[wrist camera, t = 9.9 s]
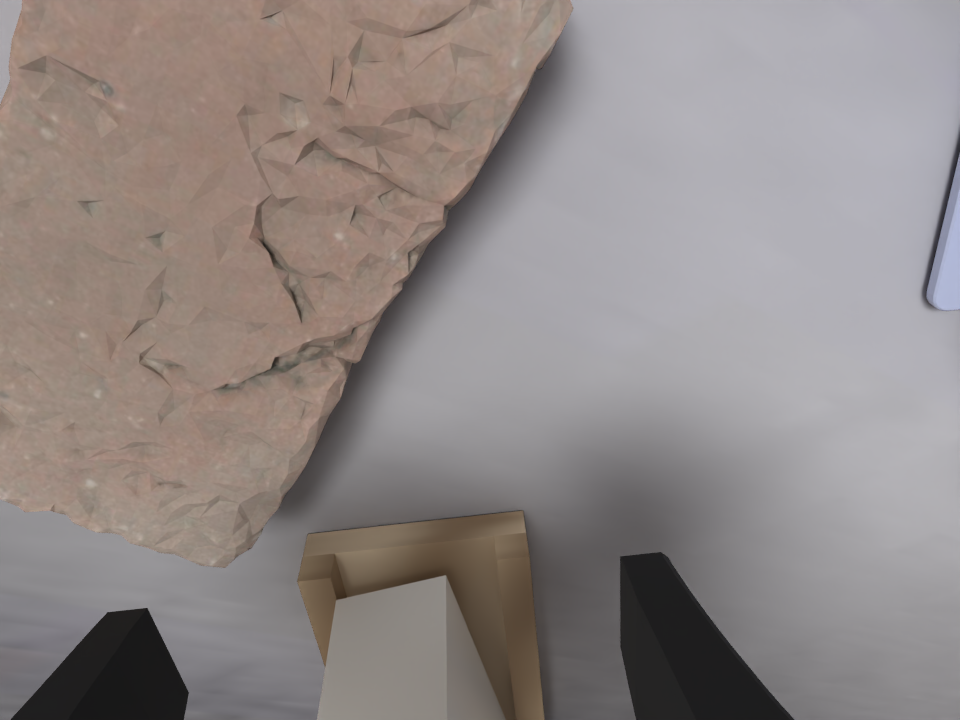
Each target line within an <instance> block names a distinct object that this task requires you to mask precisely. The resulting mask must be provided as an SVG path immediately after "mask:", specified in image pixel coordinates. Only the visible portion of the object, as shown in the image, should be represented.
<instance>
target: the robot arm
mask: <svg viewBox="0 0 960 720" xmlns="http://www.w3.org/2000/svg"><path fill="white" fill-rule="evenodd" d="M927 299H928V301H929V303H930V304H932V305H933V306H934V307H936V308H938V309H939V310H942V311H951V310H960V154H959V158H958V163H957V167H956V171H955V175H954V179H953V184H952V188H951V192H950V196H949V200H948V205H947V209H946V213H945V217H944V221H943V226H942V230H941V234H940V238H939V242H938V247H937V251H936V255H935V259H934V263H933V268H932V272H931V276H930V280H929V284H928V289H927ZM620 609H621V651H622V656H623V660H624V665H625V670H626V675H627V680H628V684H629V689H630V694H631V698H632V703H633V707H634V712H635V716H636V719H637V720H794V719H793V718H792V717H791V716H790V714H789V713H788V712H787V711H786V710H785V709H784V708H783V707H782V706H781V704H780V703H779V702H778V701H777V700H776V699H775V698H774V696H773V695H772V694H771V693H770V692H769V691H768V689H767V688H766V687H765V686H764V685H763V684H762V682H761V681H760V680H759V679H758V678H757V676H756V675H755V674H754V673H753V672H752V670H751V669H750V668H749V667H748V665H747V664H746V663H745V662H744V661H743V659H742V658H741V657H740V656H739V655H738V653H737V652H736V651H735V650H734V648H733V647H732V646H731V645H730V643H729V642H728V641H727V640H726V638H725V637H724V636H723V635H722V633H721V632H720V631H719V629H718V628H717V627H716V625H715V624H714V623H713V621H712V620H711V619H710V617H709V616H708V615H707V613H706V612H705V611H704V609H703V608H702V607H701V605H700V604H699V603H698V601H697V600H696V598H695V597H694V596H693V594H692V593H691V591H690V590H689V589H688V587H687V586H686V584H685V583H684V581H683V580H682V578H681V577H680V575H679V574H678V572H677V571H676V569H675V568H674V566H673V565H672V563H671V562H670V560H669V558H668V557H667V556H665V555H664V554H663V553H661V552H658V553H649V554H640V555H631V556H622V557H620ZM188 694H189V692H188V690H187V688H186V686H185V684H184V682H183V680H182V678H181V676H180V674H179V672H178V670H177V668H176V666H175V664H174V662H173V660H172V657H171V655H170V653H169V651H168V649H167V647H166V645H165V643H164V641H163V639H162V637H161V635H160V633H159V631H158V629H157V627H156V625H155V623H154V621H153V619H152V617H151V615H150V613H149V611H148V609H147V608H143V609H134V610H125V611H116V612H108V613H107V614H106V615H105V616H104V617H103V618H102V619H101V620H100V621H99V622H98V623H97V624H96V625H95V626H94V628H93V629H92V630H91V631H90V632H89V633H88V634H87V635H86V636H85V637H84V639H83V640H82V641H81V642H80V643H79V644H78V645H77V646H76V648H75V649H74V650H73V651H72V652H71V653H70V654H69V655H68V656H67V658H66V659H65V660H64V661H63V662H62V663H61V664H60V665H59V667H58V668H57V669H56V670H55V671H54V672H53V673H52V674H51V676H50V677H49V678H48V679H47V680H46V681H45V682H44V683H43V685H42V686H41V687H40V688H39V689H38V690H37V691H36V692H35V693H34V695H33V696H32V697H31V698H30V699H29V700H28V701H27V702H26V703H25V704H24V706H23V707H22V708H21V709H20V710H19V711H18V712H17V713H16V714H15V715H14V717H13V718H12V719H11V720H184V715H185V710H186V704H187V699H188Z"/></svg>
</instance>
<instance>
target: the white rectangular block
mask: <svg viewBox="0 0 960 720" xmlns="http://www.w3.org/2000/svg"><path fill="white" fill-rule="evenodd" d="M317 720H506V719H505V716H504V714H503V712H502V709H501V707H500V704H499V702H498V700H497V697H496V695H495V692H494V690H493V688H492V685H491V683H490V680H489V678H488V675H487V673H486V671H485V668H484V666H483V663H482V661H481V659H480V656H479V654H478V651H477V649H476V647H475V644H474V642H473V639H472V637H471V635H470V632H469V630H468V627H467V625H466V622H465V620H464V618H463V615H462V613H461V610H460V608H459V606H458V603H457V601H456V598H455V596H454V594H453V591H452V589H451V586H450V584H449V581H448V579H447V577H446V575H444V576H440V577H436V578H431V579H427V580H422V581H418V582H414V583H409V584H405V585H401V586H396V587H392V588H387V589H383V590H379V591H374V592H370V593H366V594H361V595H357V596H352V597H348V598H344V599H339V600H336V604H335V610H334V617H333V623H332V629H331V635H330V642H329V648H328V654H327V661H326V667H325V673H324V680H323V686H322V692H321V698H320V705H319V711H318V717H317Z"/></svg>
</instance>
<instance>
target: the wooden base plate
mask: <svg viewBox="0 0 960 720" xmlns="http://www.w3.org/2000/svg"><path fill="white" fill-rule="evenodd" d="M444 575H446V577H447V579H448V581H449V584H450V586H451V589H452V591H453V594H454V596H455V598H456V601H457V603H458V606H459V608H460V610H461V613H462V615H463V618H464V620H465V622H466V625H467V627H468V630H469V632H470V635H471V637H472V639H473V642H474V644H475V647H476V649H477V651H478V654H479V656H480V659H481V661H482V663H483V666H484V668H485V671H486V673H487V675H488V678H489V680H490V683H491V685H492V688H493V690H494V692H495V695H496V697H497V700H498V702H499V704H500V707H501V709H502V712H503V714H504V716H505V719H506V720H544V710H543V699H542V688H541V677H540V666H539V655H538V644H537V633H536V622H535V611H534V600H533V589H532V578H531V567H530V556H529V549H528V542H527V535H526V528H525V522H524V515H523V511H514V512H505V513H496V514H487V515H478V516H468V517H459V518H450V519H441V520H432V521H423V522H414V523H404V524H395V525H386V526H377V527H368V528H359V529H350V530H340V531H331V532H322V533H313V534H308V536H307V540H306V545H305V549H304V554H303V558H302V563H301V567H300V572H299V576H298V581H297V582H298V585H299V589H300V592H301V595H302V598H303V601H304V604H305V607H306V610H307V613H308V616H309V619H310V622H311V625H312V628H313V631H314V634H315V637H316V640H317V644H318V647H319V650H320V653H321V656H322V659H323V662H324V665H325V667H326V661H327V654H328V648H329V642H330V635H331V629H332V623H333V617H334V610H335V604H336V600H339V599H344V598H348V597H352V596H357V595H361V594H366V593H370V592H374V591H379V590H383V589H387V588H392V587H396V586H401V585H405V584H409V583H414V582H418V581H422V580H427V579H431V578H436V577H440V576H444Z"/></svg>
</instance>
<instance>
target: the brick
mask: <svg viewBox="0 0 960 720" xmlns="http://www.w3.org/2000/svg"><path fill="white" fill-rule="evenodd" d="M572 10H573V6H572V4H571V1H570V0H22V10H21V13H20V16H19V20H18V23H17V26H16V29H15V32H14V35H13V38H12V44H11V52H10V61H9V73H10V82H9V84H8V87H7V89H6V92H5V94H4V97H3V99H2V102H1V104H0V499H1V500H4V501H6V502H8V503H11V504H13V505H16V506H18V507H19V508H21V509H22V510H23V511H24V512H36V511H53V512H56V513H60V514H65V515H67V516H68V517H69V518H70V520H71V521H72V522H73V523H75V524H77V525H80V526H82V527H85V528H87V529H89V530H92V531H94V532H98V533H114V534H118V535H122V536H123V537H124V538H125V539H126V540H127V541H128V542H129V543H131V544H135V545H139V546H143V547H146V548H149V549H152V550H154V551H157V552H160V553H168V554H175V555H178V556H180V557H183V558H185V559H187V560H190V561H192V562H194V563H196V564H199V565H201V566H212V567H222V568H225V567H227V566H228V565H229V564H230V563H231V562H232V561H233V560H234V559H235V558H236V557H237V556H239V555H240V554H242V553H244V552H246V551H247V550H249V549H251V548H252V547H253V545H254V544H255V542H256V541H257V539H258V538H259V536H260V534H261V533H262V530H263V527H264V525H265V524H266V523H267V521H268V520H269V518H270V517H271V516H272V515H273V514H274V513H275V512H276V511H277V509H278V508H279V507H280V505H281V503H282V500H283V498H284V496H285V495H286V493H287V492H288V491H289V490H290V489H291V487H292V486H293V485H294V483H295V482H296V480H297V479H298V477H299V475H300V474H301V472H302V471H303V469H304V468H305V466H306V464H307V462H308V460H309V458H310V456H311V454H312V452H313V450H314V448H315V446H316V444H317V442H318V440H319V438H320V435H321V433H322V431H323V429H324V426H325V424H326V422H327V419H328V417H329V415H330V414H331V412H332V411H333V409H334V408H335V406H336V405H337V403H338V402H339V400H340V399H341V396H342V393H343V390H344V387H345V384H346V381H347V378H348V374H349V371H350V369H351V366H352V363H357V362H359V361H360V360H361V358H362V355H363V353H364V351H365V349H366V346H367V344H368V342H369V340H370V338H371V336H372V334H373V332H374V329H375V328H376V326H377V325H378V324H379V322H380V320H381V317H382V314H383V312H384V311H385V310H386V309H387V307H388V306H389V305H390V304H391V302H392V301H393V300H394V299H395V298H396V296H397V295H398V294H399V293H400V291H401V290H402V289H403V287H402V284H403V283H404V282H405V281H406V280H407V279H408V278H409V277H410V275H411V274H412V272H413V270H414V269H415V267H416V265H417V263H418V262H419V260H420V258H421V257H422V255H423V253H424V252H425V250H426V248H427V246H428V244H429V243H430V242H431V241H432V240H433V239H434V238H435V237H436V236H437V235H438V234H439V233H440V232H441V231H442V230H443V229H444V228H445V227H446V222H447V216H448V211H449V210H450V209H451V208H452V207H453V206H455V205H456V204H457V203H458V202H459V201H460V200H461V199H462V197H463V196H464V195H465V194H466V193H467V192H468V191H469V190H470V188H471V186H472V184H473V183H474V181H475V179H476V177H477V175H478V174H479V172H480V170H481V168H482V166H483V165H484V163H485V161H486V160H487V158H488V157H489V155H490V153H491V152H492V150H493V148H494V147H495V145H496V144H497V142H498V141H499V139H500V138H501V136H502V135H503V133H504V132H505V130H506V129H507V127H508V126H509V124H510V123H511V121H512V119H513V117H514V116H515V114H516V112H517V110H518V109H519V107H520V105H521V103H522V101H523V100H524V98H525V96H526V94H527V91H528V89H529V86H530V84H531V81H532V79H533V76H534V74H535V71H536V69H542V67H543V65H544V64H545V62H546V60H547V59H548V57H549V55H550V54H551V52H552V50H553V48H554V46H555V44H556V42H557V40H558V38H559V36H560V34H561V32H562V30H563V28H564V26H565V24H566V22H567V20H568V18H569V16H570V14H571V12H572Z"/></svg>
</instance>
